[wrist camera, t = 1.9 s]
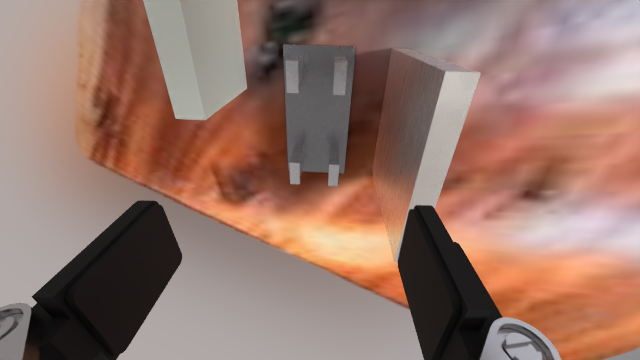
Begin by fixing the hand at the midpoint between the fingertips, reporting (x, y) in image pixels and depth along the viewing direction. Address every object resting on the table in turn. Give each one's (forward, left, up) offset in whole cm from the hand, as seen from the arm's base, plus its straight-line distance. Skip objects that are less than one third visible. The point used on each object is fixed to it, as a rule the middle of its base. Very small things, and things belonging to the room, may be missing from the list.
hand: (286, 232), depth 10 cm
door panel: (-7, -10, -25) cm, 28 cm away
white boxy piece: (+3, +3, -25) cm, 25 cm away
